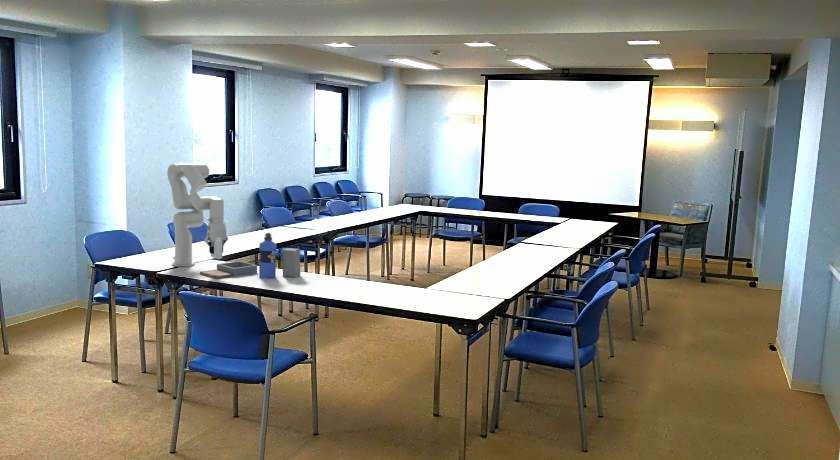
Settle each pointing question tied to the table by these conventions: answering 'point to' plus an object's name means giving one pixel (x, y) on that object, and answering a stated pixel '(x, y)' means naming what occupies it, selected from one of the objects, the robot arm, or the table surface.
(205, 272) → the board
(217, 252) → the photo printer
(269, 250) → the water bottle
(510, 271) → the table surface
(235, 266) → the bin
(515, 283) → the table surface
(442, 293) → the table surface
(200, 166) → the robot arm
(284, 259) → the skincare box
